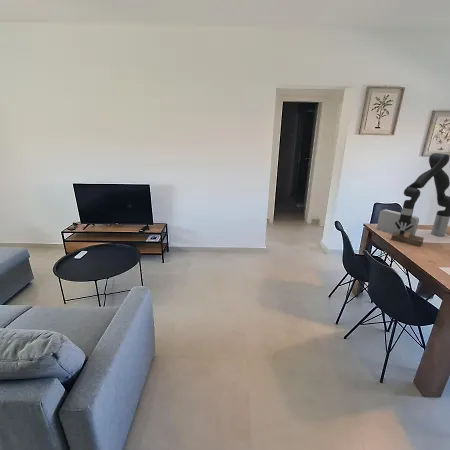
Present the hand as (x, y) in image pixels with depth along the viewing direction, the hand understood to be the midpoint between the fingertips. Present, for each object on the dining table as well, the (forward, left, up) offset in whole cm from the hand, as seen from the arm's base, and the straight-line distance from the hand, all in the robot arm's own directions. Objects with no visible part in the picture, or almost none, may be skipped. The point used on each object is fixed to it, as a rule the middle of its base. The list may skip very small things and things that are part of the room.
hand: (401, 234), depth 220 cm
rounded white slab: (-16, -7, -6) cm, 18 cm away
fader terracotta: (0, +4, -1) cm, 4 cm away
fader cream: (-6, -1, -1) cm, 6 cm away
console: (-3, +4, -5) cm, 7 cm away
